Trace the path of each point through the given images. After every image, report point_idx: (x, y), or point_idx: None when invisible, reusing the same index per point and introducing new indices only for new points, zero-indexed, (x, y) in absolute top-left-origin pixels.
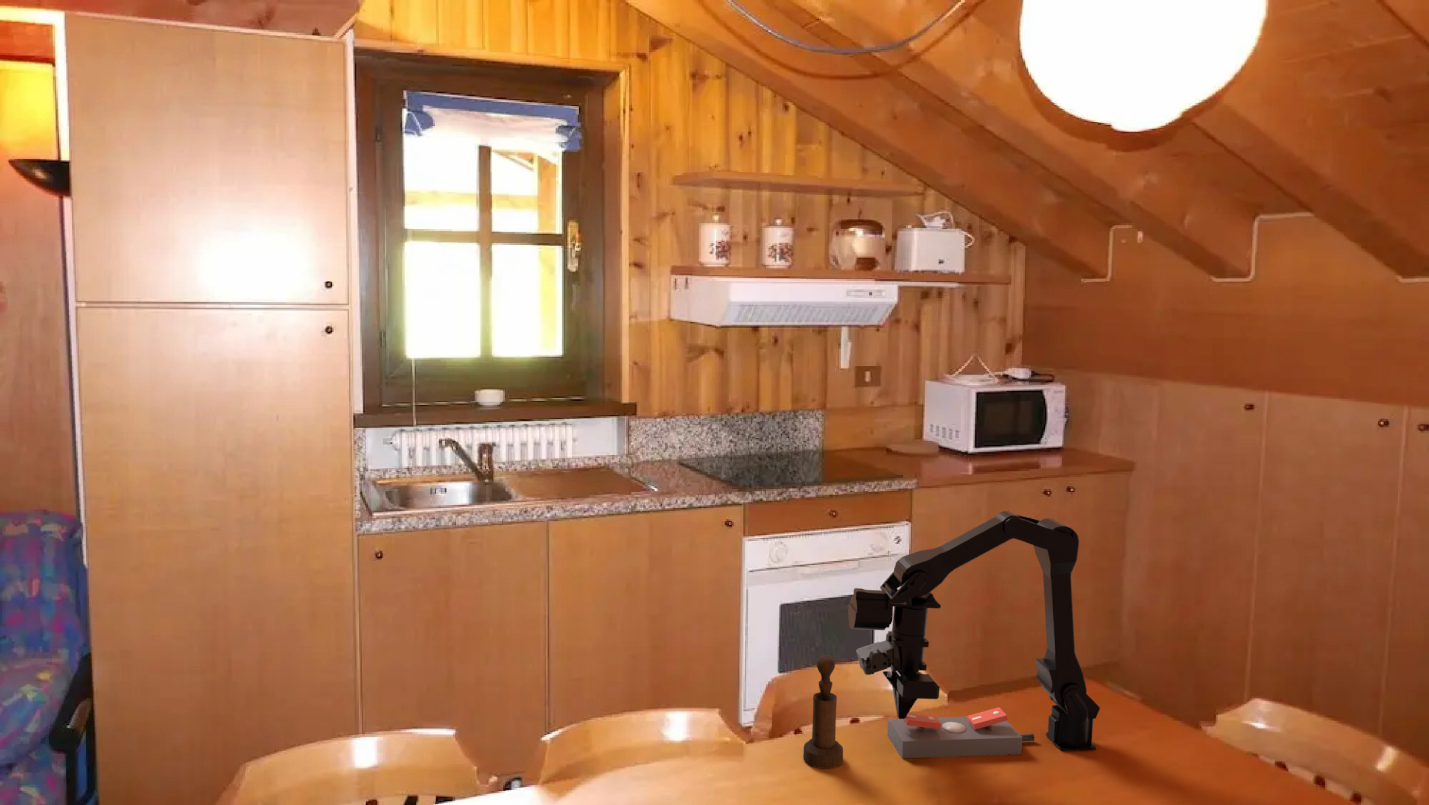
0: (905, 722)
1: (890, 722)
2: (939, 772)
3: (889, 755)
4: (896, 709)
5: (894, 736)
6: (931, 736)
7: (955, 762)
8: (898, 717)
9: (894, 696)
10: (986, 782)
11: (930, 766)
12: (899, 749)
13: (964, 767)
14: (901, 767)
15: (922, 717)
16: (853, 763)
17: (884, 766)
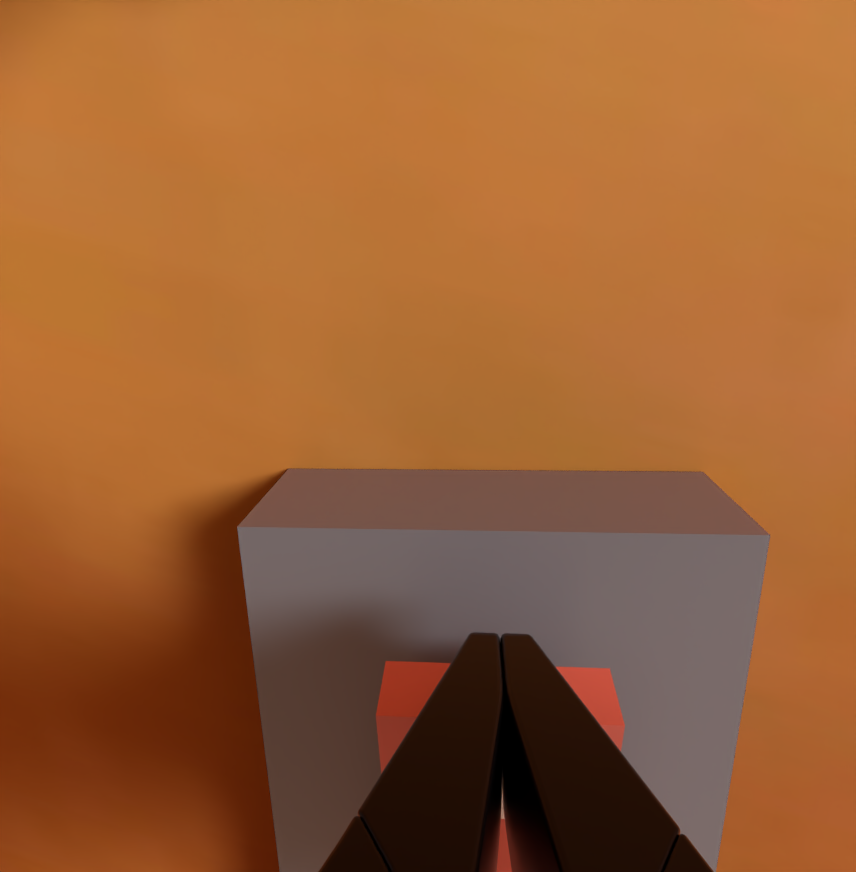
0: (443, 670)
1: (678, 537)
2: (103, 640)
3: (344, 389)
4: (544, 686)
5: (505, 501)
6: (342, 777)
7: (244, 767)
8: (470, 637)
9: (639, 850)
10: (14, 826)
11: (181, 615)
12: (352, 482)
13: (181, 789)
14: (151, 423)
15: (499, 862)
16: (192, 24)
17: (157, 298)
